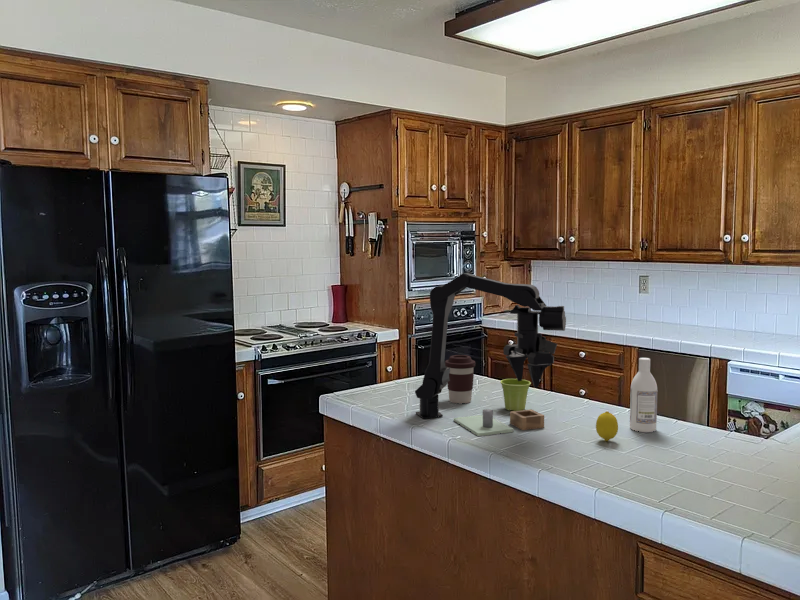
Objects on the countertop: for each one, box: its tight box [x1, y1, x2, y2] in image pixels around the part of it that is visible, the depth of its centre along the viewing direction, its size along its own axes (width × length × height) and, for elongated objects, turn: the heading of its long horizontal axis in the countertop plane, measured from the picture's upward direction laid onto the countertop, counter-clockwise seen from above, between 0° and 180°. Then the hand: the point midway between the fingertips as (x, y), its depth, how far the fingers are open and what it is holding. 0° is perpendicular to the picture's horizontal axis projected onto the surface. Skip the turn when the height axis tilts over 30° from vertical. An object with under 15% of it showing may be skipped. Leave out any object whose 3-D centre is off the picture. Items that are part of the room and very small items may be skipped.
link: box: [509, 409, 545, 431], centre depth 182 cm, size 7×7×4 cm
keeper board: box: [453, 408, 515, 437], centre depth 181 cm, size 16×11×5 cm
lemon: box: [595, 411, 619, 442], centre depth 167 cm, size 6×6×8 cm
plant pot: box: [500, 378, 532, 411], centre depth 200 cm, size 9×9×9 cm
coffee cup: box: [444, 354, 476, 405], centre depth 209 cm, size 10×10×15 cm
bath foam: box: [629, 357, 658, 433], centre depth 176 cm, size 7×7×20 cm
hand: (527, 384), depth 180 cm, fingers open, 9 cm apart
